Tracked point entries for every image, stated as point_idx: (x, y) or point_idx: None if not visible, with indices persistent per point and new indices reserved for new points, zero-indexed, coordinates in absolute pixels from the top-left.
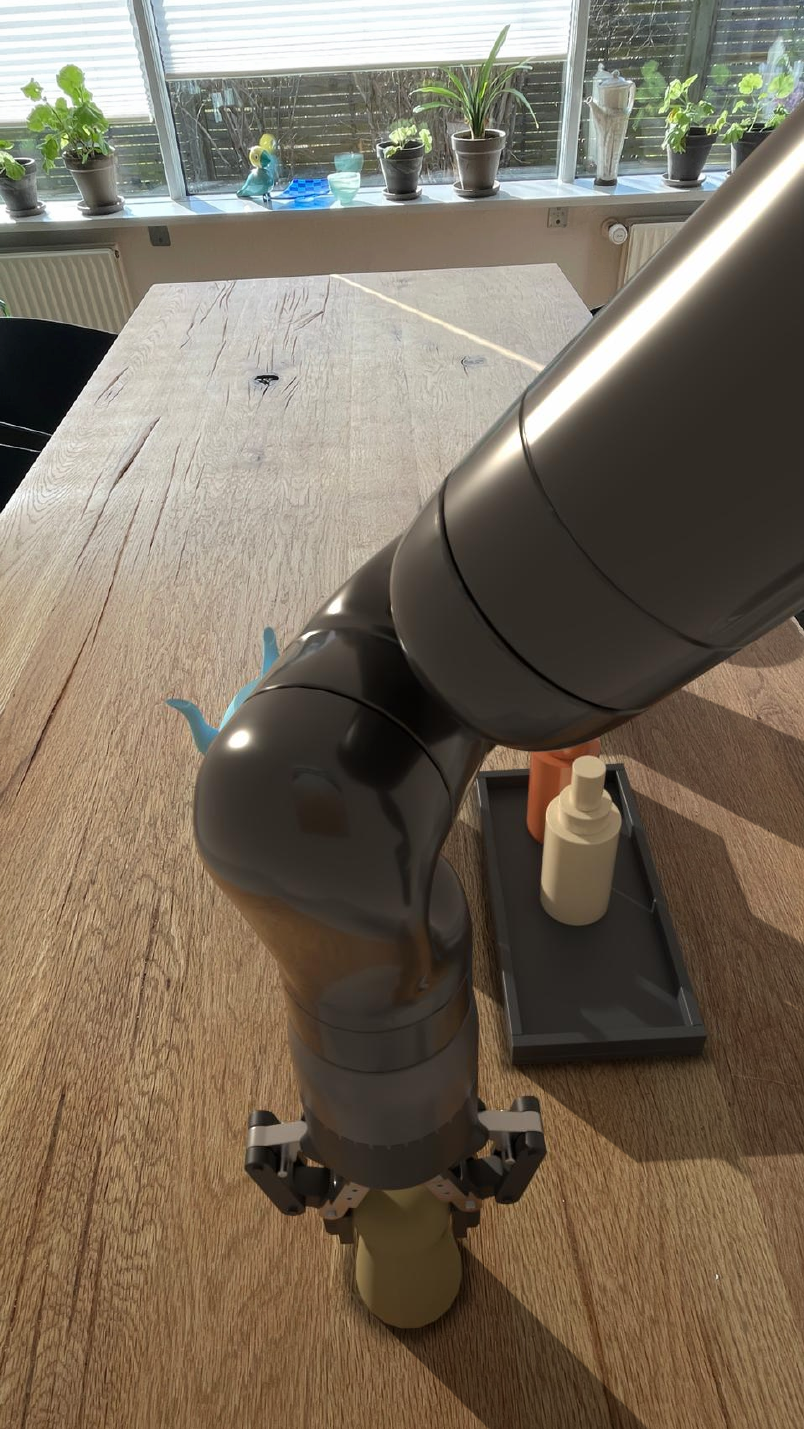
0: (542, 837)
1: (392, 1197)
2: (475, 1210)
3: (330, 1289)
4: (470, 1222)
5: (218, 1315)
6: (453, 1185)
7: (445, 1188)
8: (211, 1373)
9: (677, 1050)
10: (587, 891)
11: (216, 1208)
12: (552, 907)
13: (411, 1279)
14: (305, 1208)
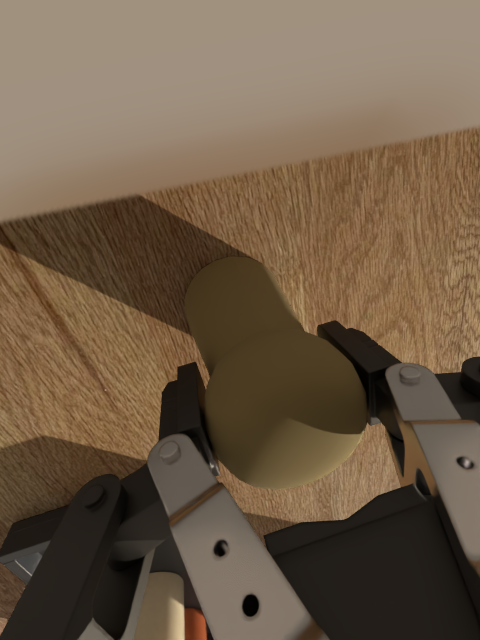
0: (190, 618)
1: (313, 429)
2: (161, 440)
3: (300, 272)
4: (175, 390)
5: (393, 230)
6: (209, 620)
7: (231, 586)
8: (395, 182)
9: (31, 525)
10: (137, 636)
11: (402, 309)
12: (170, 587)
13: (237, 301)
14: (469, 379)
